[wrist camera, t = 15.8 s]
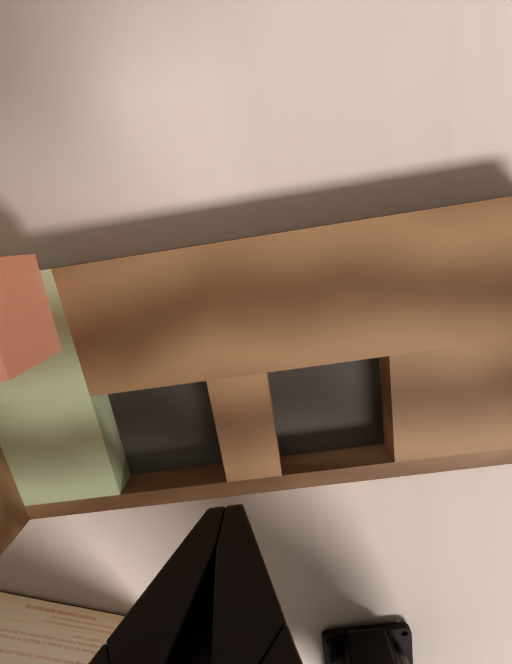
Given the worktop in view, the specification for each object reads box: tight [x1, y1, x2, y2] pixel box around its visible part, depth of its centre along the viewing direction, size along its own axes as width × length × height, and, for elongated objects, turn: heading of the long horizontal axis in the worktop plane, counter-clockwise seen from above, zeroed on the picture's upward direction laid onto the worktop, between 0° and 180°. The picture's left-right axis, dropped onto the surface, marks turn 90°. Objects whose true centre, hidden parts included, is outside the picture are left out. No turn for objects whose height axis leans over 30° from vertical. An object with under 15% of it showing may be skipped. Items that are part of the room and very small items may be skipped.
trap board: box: [0, 196, 512, 556], centre depth 18 cm, size 14×31×5 cm, turn 99°
